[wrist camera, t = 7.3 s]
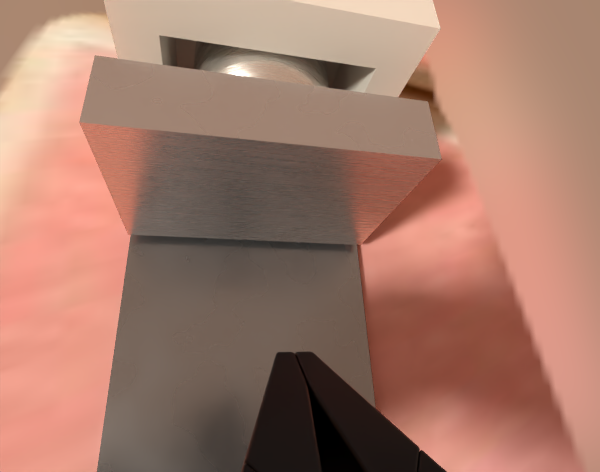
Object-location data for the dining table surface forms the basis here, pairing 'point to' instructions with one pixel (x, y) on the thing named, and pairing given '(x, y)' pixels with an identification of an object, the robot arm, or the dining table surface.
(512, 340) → the dining table surface
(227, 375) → the plate
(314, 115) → the grey piece
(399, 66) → the socket
